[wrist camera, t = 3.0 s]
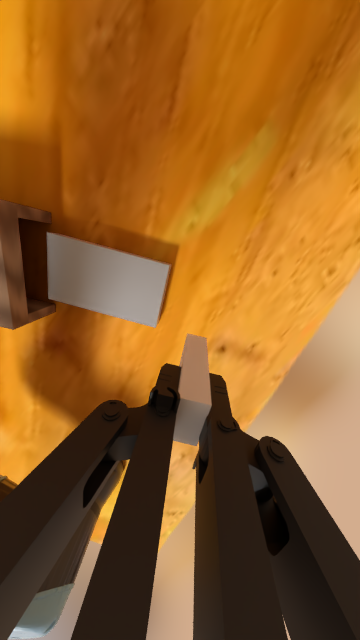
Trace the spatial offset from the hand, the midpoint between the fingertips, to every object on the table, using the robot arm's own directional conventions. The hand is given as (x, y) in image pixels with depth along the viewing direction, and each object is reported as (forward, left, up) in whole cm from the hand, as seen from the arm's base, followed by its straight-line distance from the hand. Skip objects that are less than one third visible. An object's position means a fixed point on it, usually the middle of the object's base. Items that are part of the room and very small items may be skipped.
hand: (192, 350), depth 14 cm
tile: (0, +14, -17) cm, 22 cm away
